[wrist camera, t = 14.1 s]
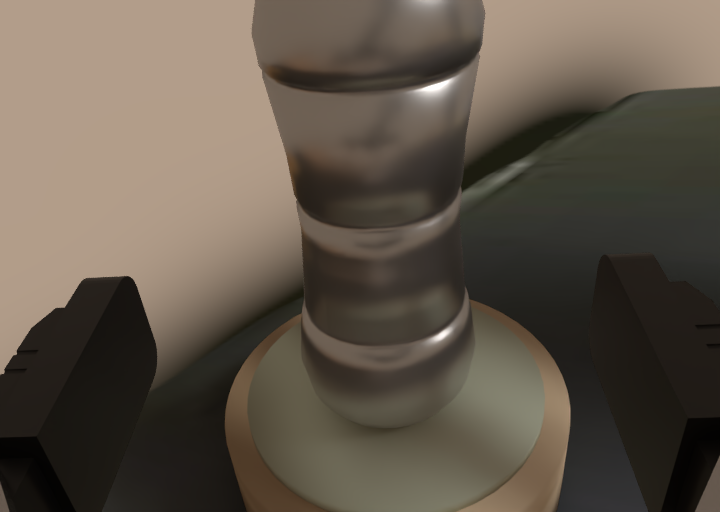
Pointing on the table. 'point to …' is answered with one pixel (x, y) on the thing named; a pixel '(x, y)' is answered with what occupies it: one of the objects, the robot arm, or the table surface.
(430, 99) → the plastic bottle
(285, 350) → the wooden stand
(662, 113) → the table surface
